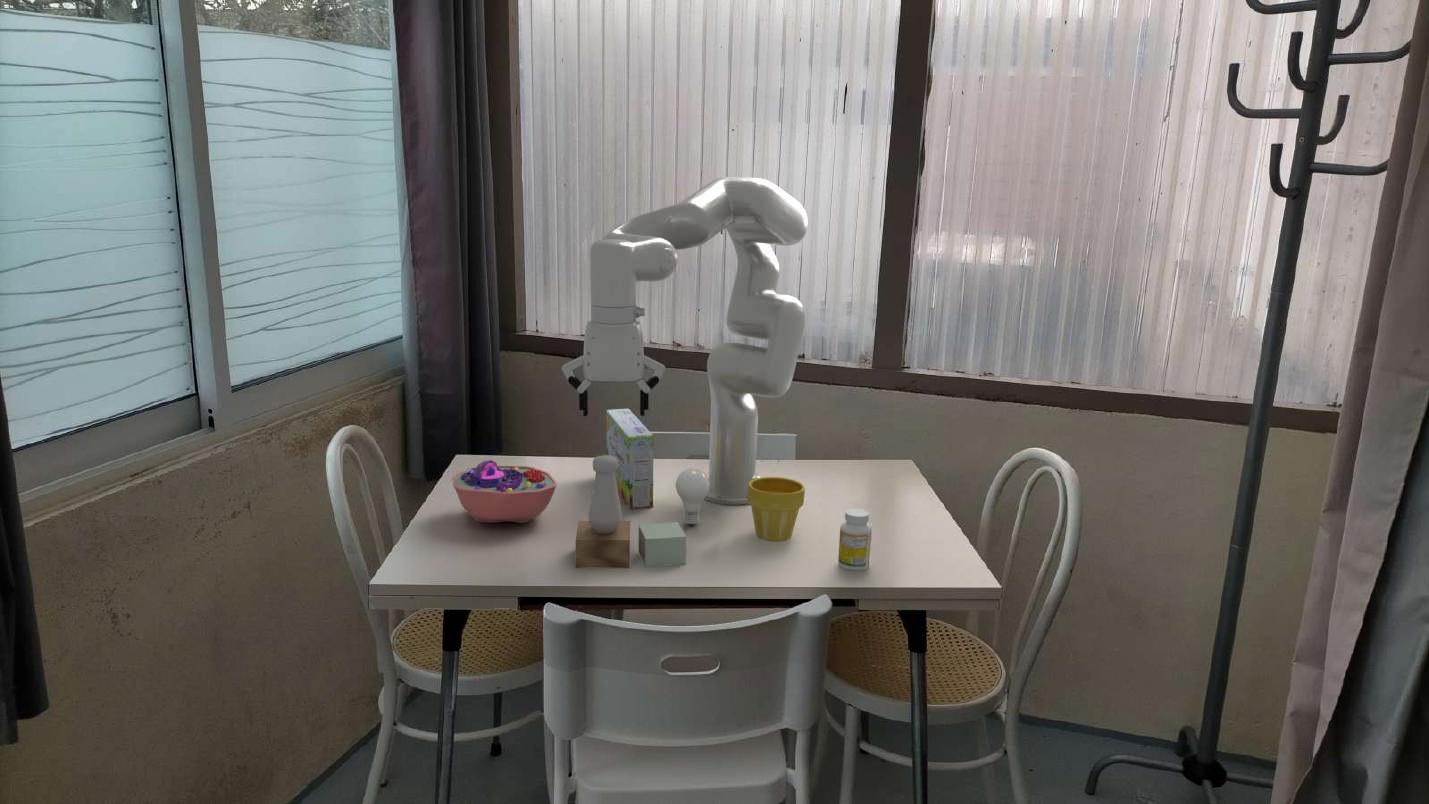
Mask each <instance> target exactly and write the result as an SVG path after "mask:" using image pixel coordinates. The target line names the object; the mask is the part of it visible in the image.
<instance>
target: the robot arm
mask: <svg viewBox="0 0 1429 804" xmlns="http://www.w3.org/2000/svg"><path fill="white" fill-rule="evenodd" d="M808 222H809V221H808V216H807V212H806V210H805V209H804V207H803V205H802V204H801V203H800V202H799V201H798V200H797V199H795V198H794V197H793V196H791V195H790V194H789V193H787V192H786V191H784V190H783V189H782V188H780V187H779V186H777V185H776V184H775V183H772V182H771V181H769V180H767V179H764V178H759V177H744V176H743V177H742V176H722V177H717V178H715V179H713V180H711V181H710V182H708V183H707V184H706V185H704V186H703V187H701V188H700V189H699V188H698V190H697V191H695V192H693V193H692V194H690V195H689V196H687V197H686V198H685V199H683V200H682V201H680V202H678V203H676V204H673V205H669V206H664V207H662V208H660V209H656V210H654V211H650V212H646V213H643V214H639V215H637V216H635V217H632V218H630V219H627V220H626V221H624V222H622V223H620V224H619V225H618V226H616V227H614V228H613V229H612V230H610V231H609V232H608V233H607V234H605V236H604V237H603V238H602V239H599V240H595V241H594V242H593V243H592V244H591V246H590V249H589V250H590V251H589V262H590V263H589V271H590V272H589V273H590V274H589V277H590V279H589V281H590V282H589V283H590V284H589V285H590V320H589V321H587V322H586V325H585V329H584V339H583V355H580V356H578V357H576V358H575V359H572V360H571V361H569V362H567V363H565V364H563V365H562V367H561V371H562V373H563V374H564V376H565V378H566V380H567V382H568V383H569V384H570V386H571V387H572V388H574V390H576V391H577V393H578V403H579V404H578V406H579V407H578V408H579V409H578V410H579V411H582V413H583V414H582V415H583V417H587V416H588V415H589V390H588V389H587V388H589V387H590V385H591V384H592V383H599V384H600V383H605V384H606V383H609V384H610V383H615V384H617V383H619V384H621V383H622V384H623V383H635V384H637V386H638V387H639V388H640V389H641V390H639V415H640V416H641V417H644V416H645V411H647V410H649V401H650V400H649V397H650V396H649V393H651V391H652V389H654V388H655V387H656V386H657V385H658V384H659V382H660V381H661V378H662V377H663V374H664V373H665V371H666V366H665V365H664V364H663V363H660V362H659V361H656V360H655V359H653V358H650V357H648V356H646V355H645V353H644V337H643V330H642V325H641V322H640V321H639V320H637V319H638V318H640V317H645V315H646V311H645V308H644V307H639V306H638V305H637V283H638V282H652V283H653V282H655V283H656V282H660V281H664V280H666V279H667V278H669V277H671V275H672V274H673V273H674V272H675V270H676V268H677V265H678V254H677V251H678V250H686V249H693V248H696V247H700V246H702V245H704V244H705V243H707V242H708V241H710V240H711V239H712V238H714V237H716V235H718V234H719V233H721V232H722V231H724V230H726V231H727V233H728V235H729V237H730V239H731V242H732V244H733V246H734V250H735V253H736V259H737V268H736V274H735V279H734V281H733V282H734V283H733V287H732V289H731V295H730V300H729V304H728V308H727V312H726V326H727V329H728V331H729V332H730V333H732V334H733V335H735V336H738V337H741V338H746V339H752V340H756V341H757V340H758V341H764V342H765V341H766V342H768V343H767V347H764V346H763V347H762V346H756V345H753V344H747V343H739V342H733V341H731V342H724V343H720V344H718V345H716V346H715V347H714V348H713V349H712V350H711V351H710V353H709V355H708V358H707V362H706V363H707V365H706V368H707V369H706V371H707V378H708V382H709V384H708V385H709V391H710V392H709V393H710V425H709V426H710V427H709V428H710V431H709V462H708V464H709V465H708V479H709V482H710V489H709V492H708V494H707V496H706V497H705V498H704V500H707V501H709V502H712V503H717V504H722V505H731V506H732V505H734V506H735V505H747V504H750V503H749V502H748V484H749V482H750V481H751V480H753V479H756V478H762V477H761V476H759V475H758V474H757V472H756V471H757V470H756V462H757V445H758V444H757V442H758V441H757V440H758V422H759V411H758V407H757V403H756V401H755V398H754V396H758V397H763V398H771V399H777V398H780V397H783V396H784V395H785V394H786V393H787V391H788V390H789V389H790V387H791V384H792V381H793V378H794V373H795V370H796V367H797V361H798V357H799V353H800V349H801V345H802V340H803V336H804V331H805V324H806V323H805V322H806V317H805V310H804V307H803V304H802V303H801V301H800V300H799V299H797V298H796V297H794V296H791V295H790V294H789V295H788V294H783V293H776V292H777V287H778V284H779V283H778V281H779V278H780V265H779V261H778V258H777V257H776V254H775V252H774V249H773V248H772V246H773V245H775V246H786V247H787V246H789V247H790V246H793V245H797V244H799V243H800V242H801V241H802V240H803V239H804V237H805V235H806V233H807V231H808ZM581 366H583V367H582V369H583V371H582V372H583V376H584V377H583V378H582V379H581V380H580V379H579V378H578V377H576V376H575V375H574V372H573V370H575V369H577V368H579V367H581ZM645 366H646V367H649V368H650V369H652V370H654V374H653V375H652V376H650V378H649V379H648V380H646V378H645V377H644V373H645Z"/></svg>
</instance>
